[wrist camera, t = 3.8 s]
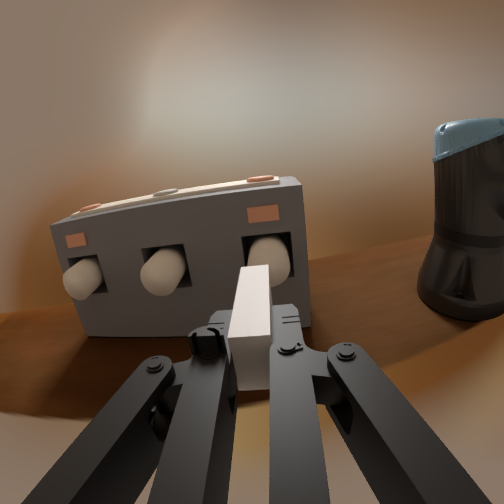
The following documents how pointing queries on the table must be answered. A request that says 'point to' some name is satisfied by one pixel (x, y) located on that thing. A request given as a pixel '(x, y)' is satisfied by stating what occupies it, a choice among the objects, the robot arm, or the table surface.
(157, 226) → the button panel
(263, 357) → the robot arm
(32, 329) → the table surface
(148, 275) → the button middle
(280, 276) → the button
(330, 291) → the table surface
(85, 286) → the button
